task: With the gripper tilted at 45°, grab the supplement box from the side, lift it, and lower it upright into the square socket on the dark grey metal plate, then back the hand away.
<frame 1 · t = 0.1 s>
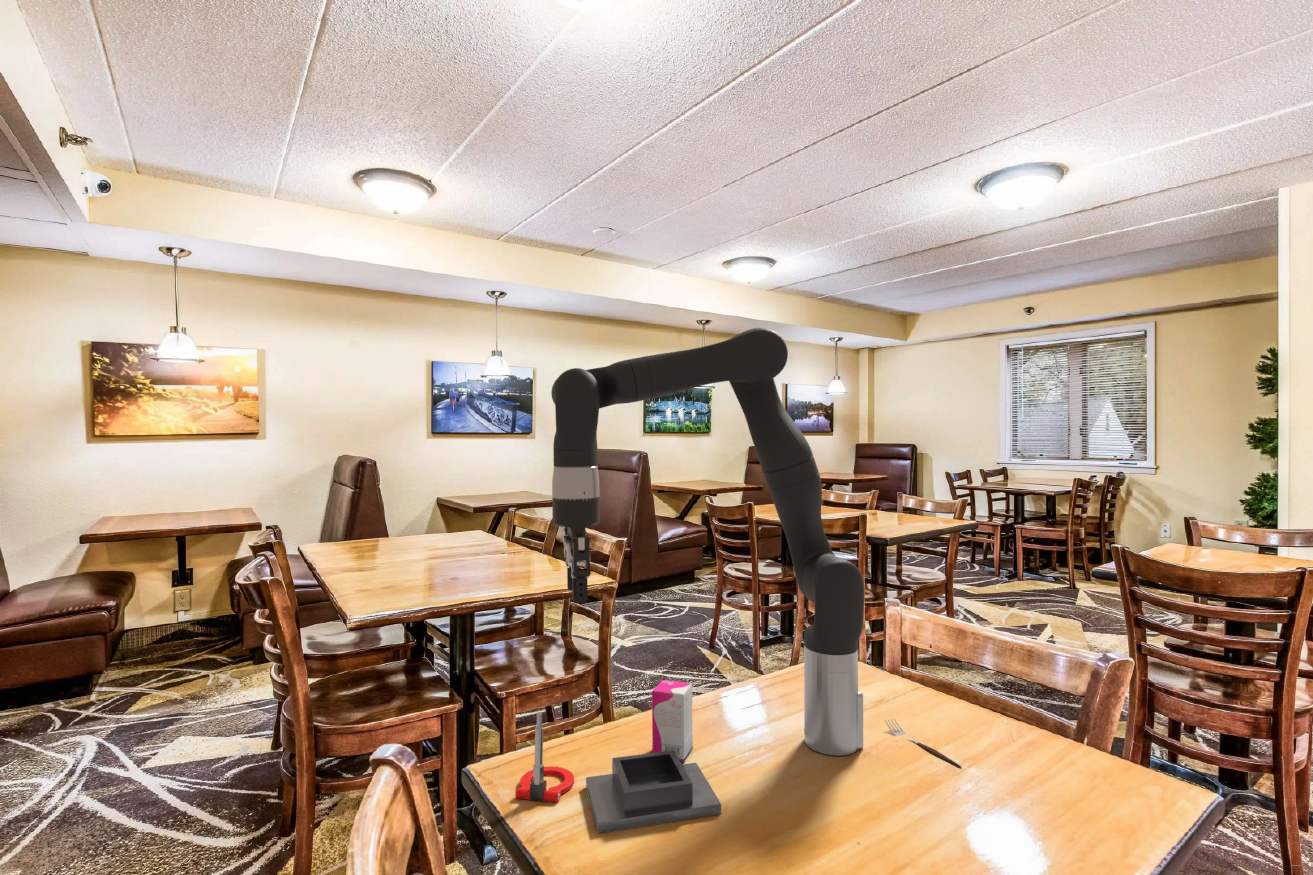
hand: (577, 595, 102), 29 cm above the table, tool pointing down, fingers open, 8 cm apart
tow hook: (546, 787, 100), on the table
socket plate: (651, 799, 96), on the table
supplement box: (672, 753, 110), on the table
fork: (922, 749, 112), on the table
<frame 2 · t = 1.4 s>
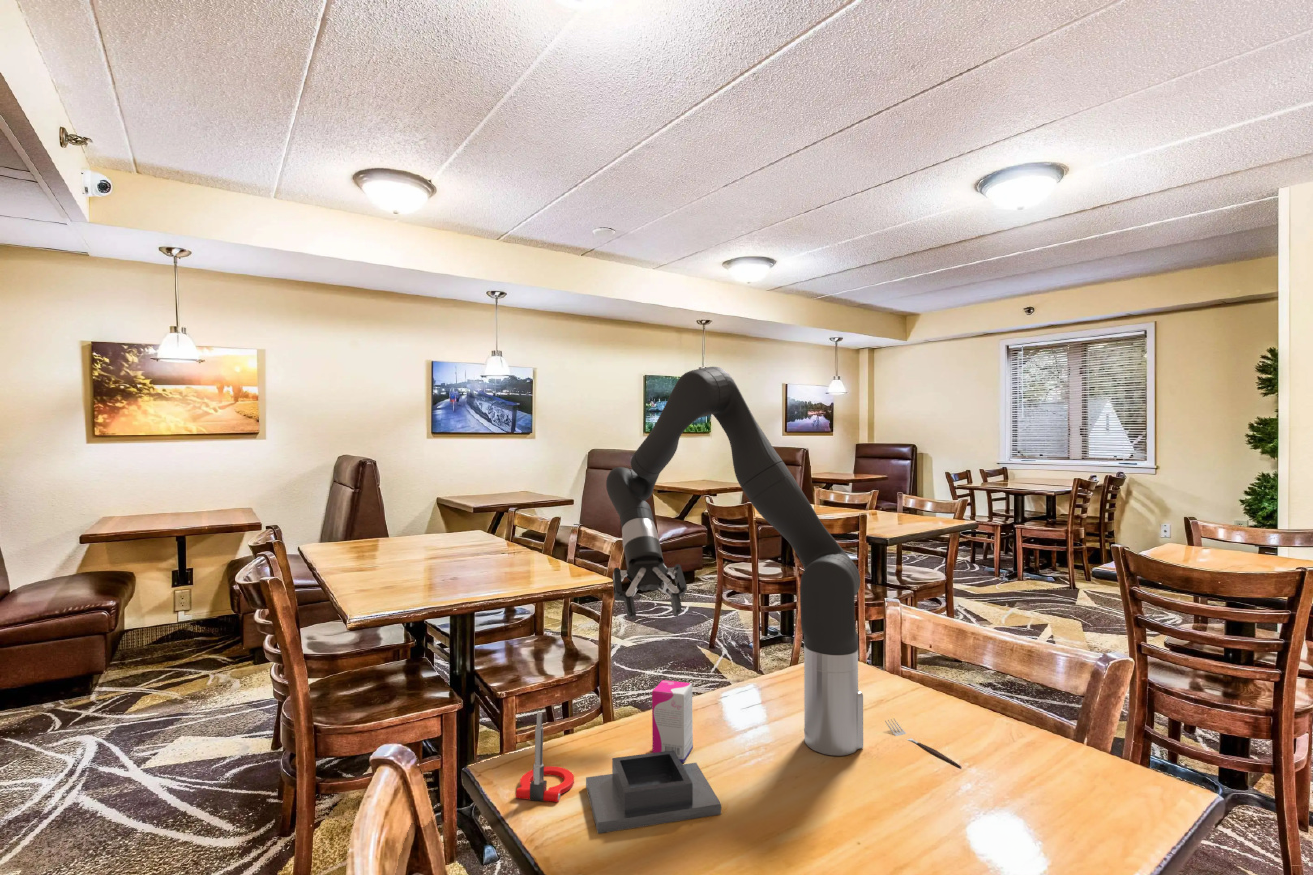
hand: (655, 615, 121), 21 cm above the table, tool tilted 45°, fingers open, 8 cm apart
nothing on the table moved.
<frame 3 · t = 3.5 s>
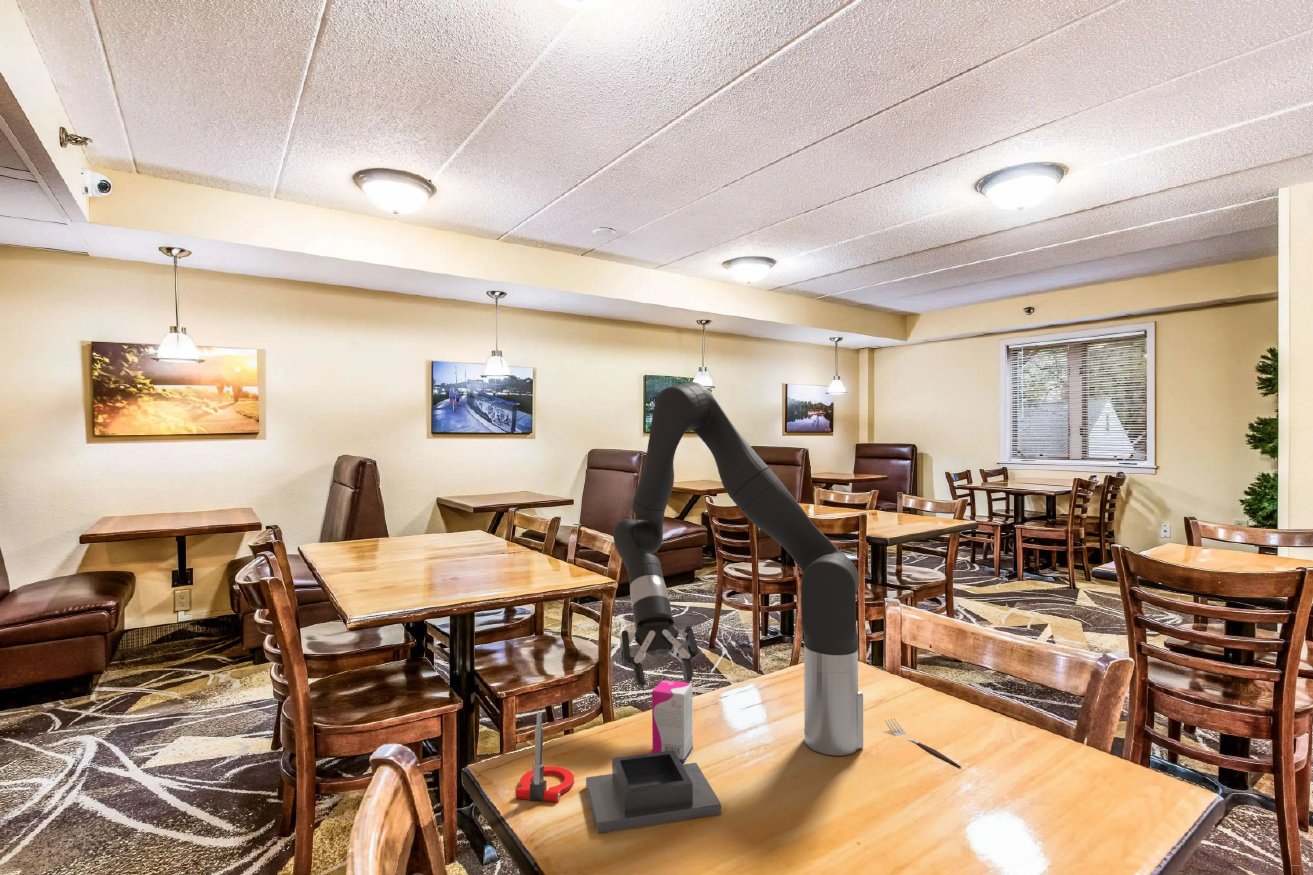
hand: (665, 683, 115), 10 cm above the table, tool tilted 45°, fingers open, 8 cm apart
nothing on the table moved.
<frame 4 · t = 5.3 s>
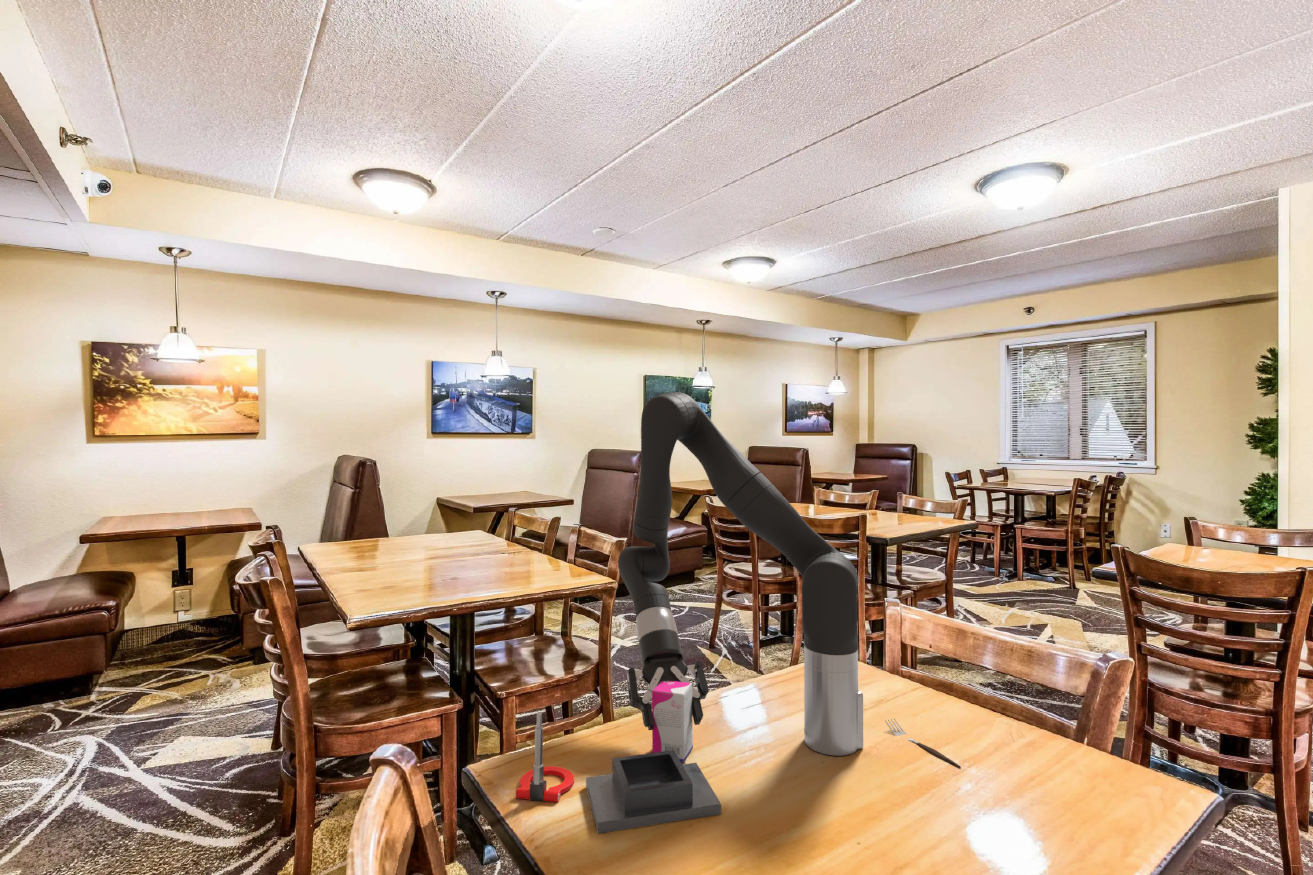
hand: (675, 725, 109), 5 cm above the table, tool tilted 45°, fingers closed on supplement box, 8 cm apart
supplement box: (672, 753, 110), on the table, touching gripper
everything else where it was.
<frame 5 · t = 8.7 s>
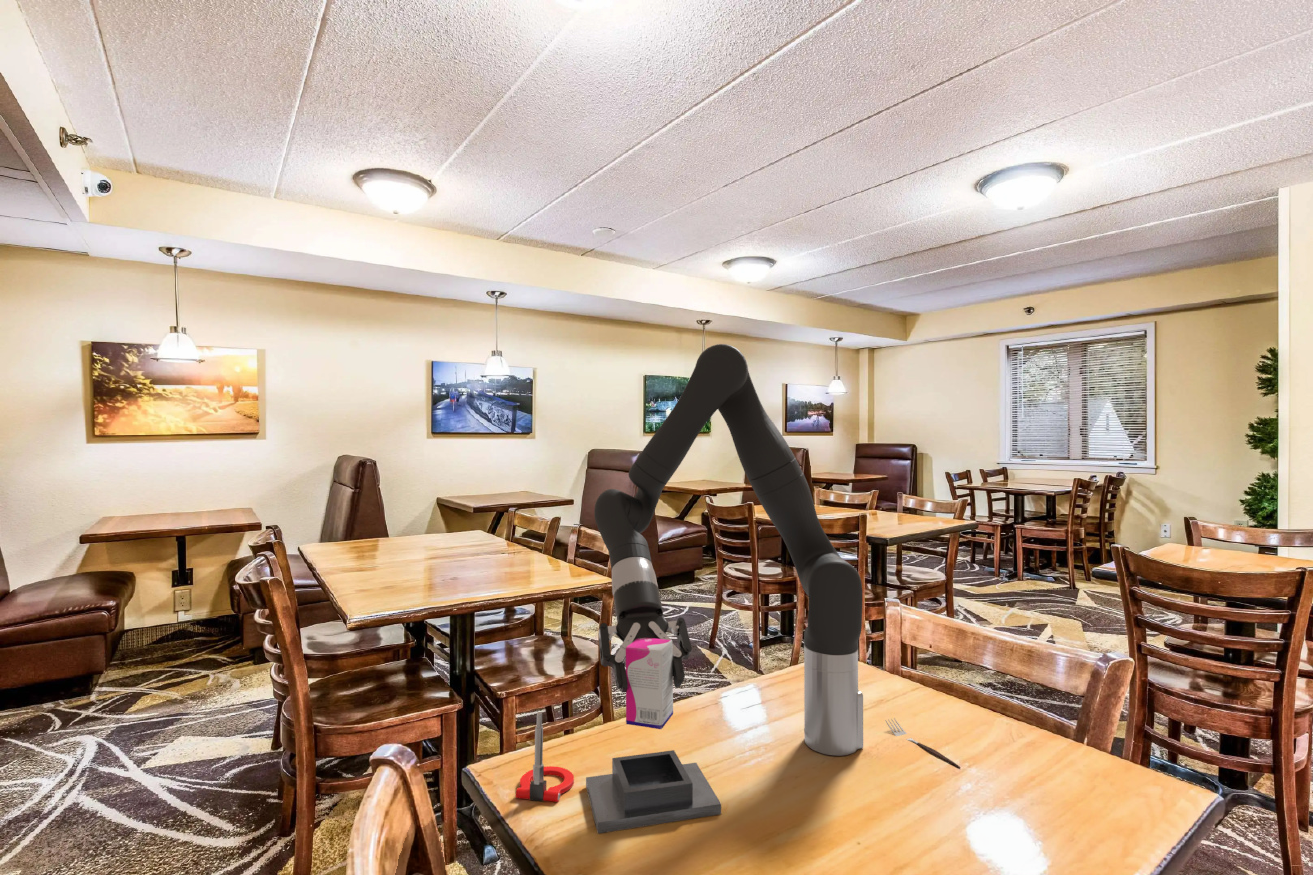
hand: (652, 687, 95), 17 cm above the table, tool tilted 45°, fingers closed on supplement box, 8 cm apart
supplement box: (649, 720, 96), point 12 cm above the table, touching gripper
everything else where it was.
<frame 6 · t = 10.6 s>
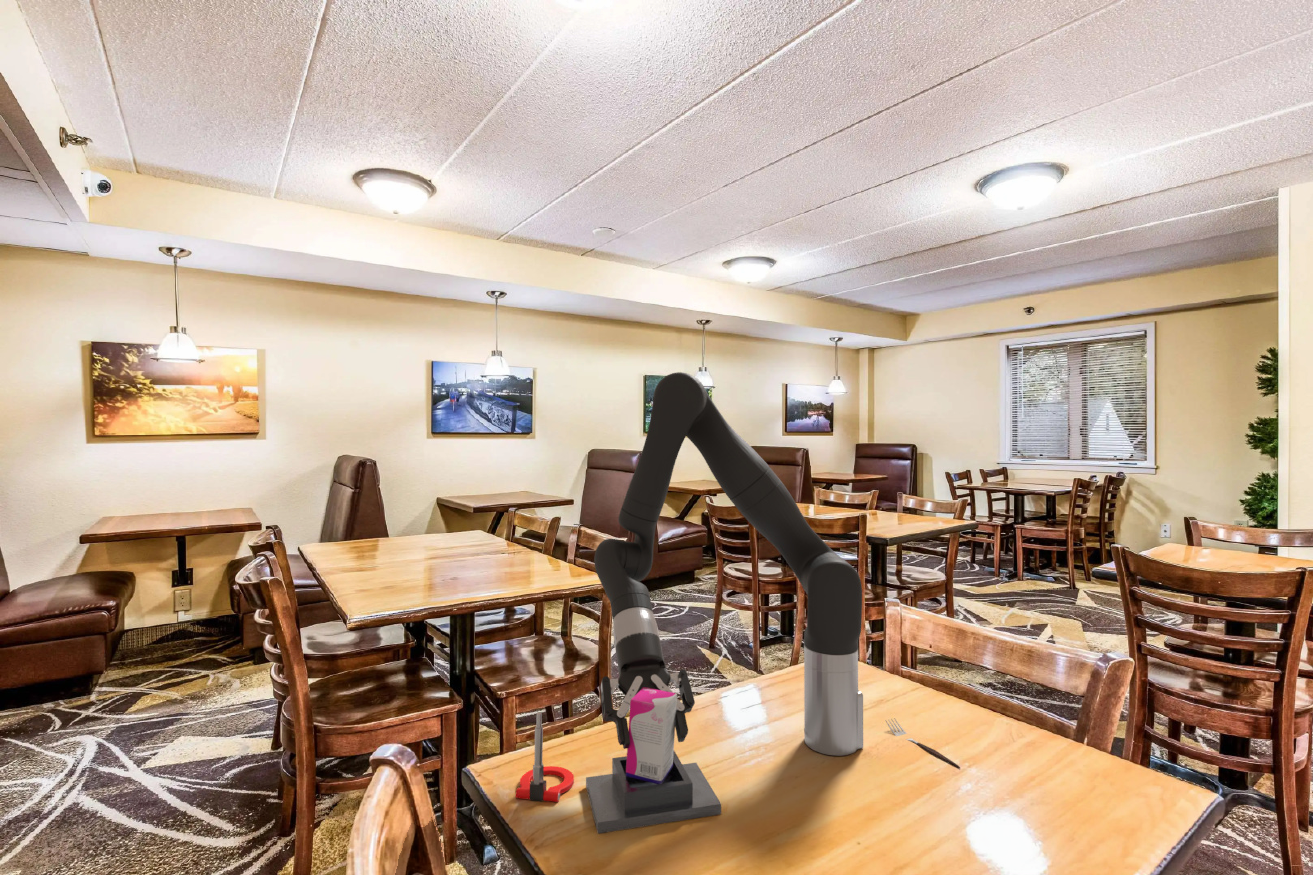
hand: (654, 743, 94), 9 cm above the table, tool tilted 45°, fingers closed on supplement box, 8 cm apart
supplement box: (649, 772, 96), point 4 cm above the table, touching gripper, socket plate
everything else where it was.
when the fingers open (10 cm above the table, at t = 12.0 s): supplement box drops 3 cm, resting on socket plate.
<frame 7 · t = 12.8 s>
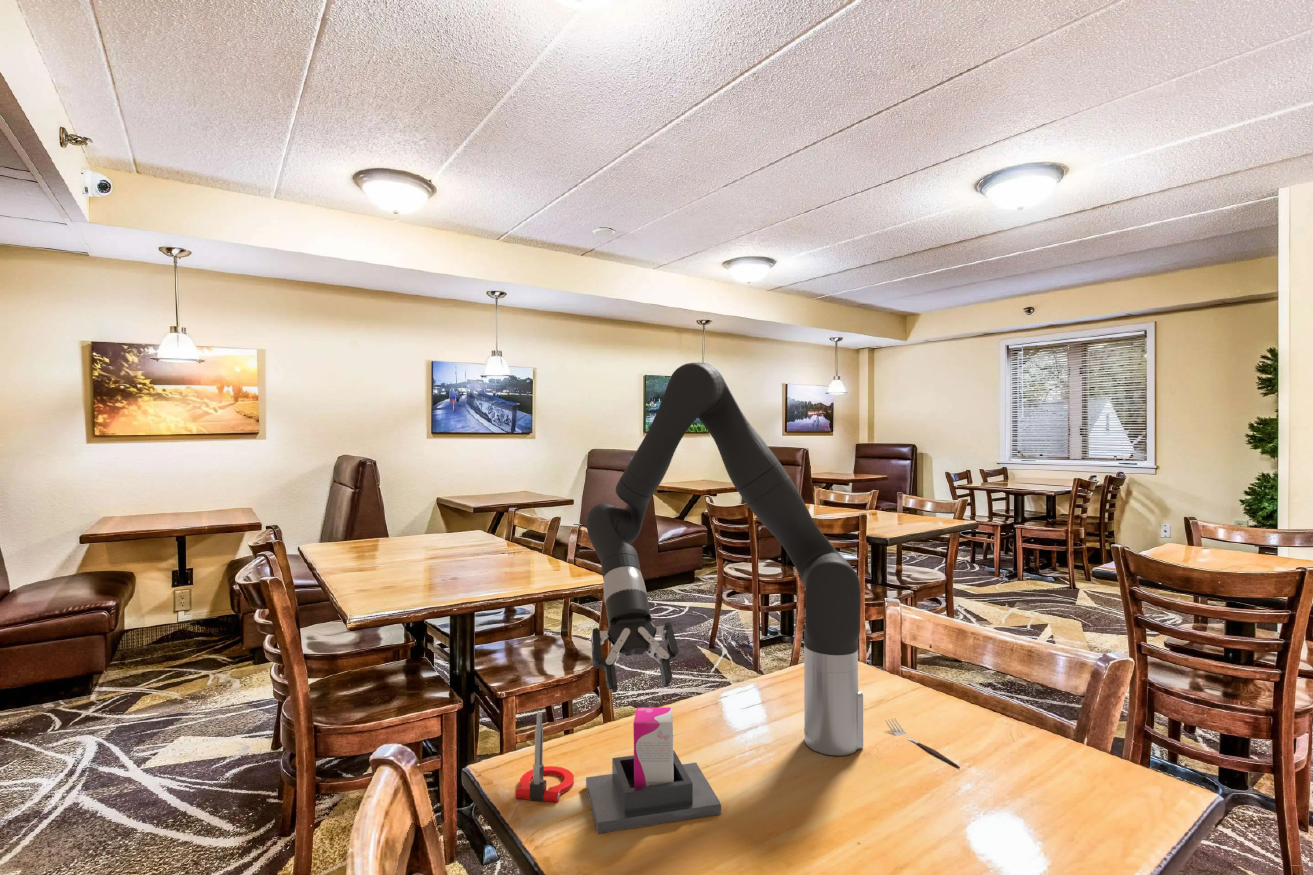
hand: (641, 687, 102), 14 cm above the table, tool tilted 45°, fingers open, 8 cm apart
supplement box: (654, 791, 96), point 1 cm above the table, touching socket plate
everything else where it was.
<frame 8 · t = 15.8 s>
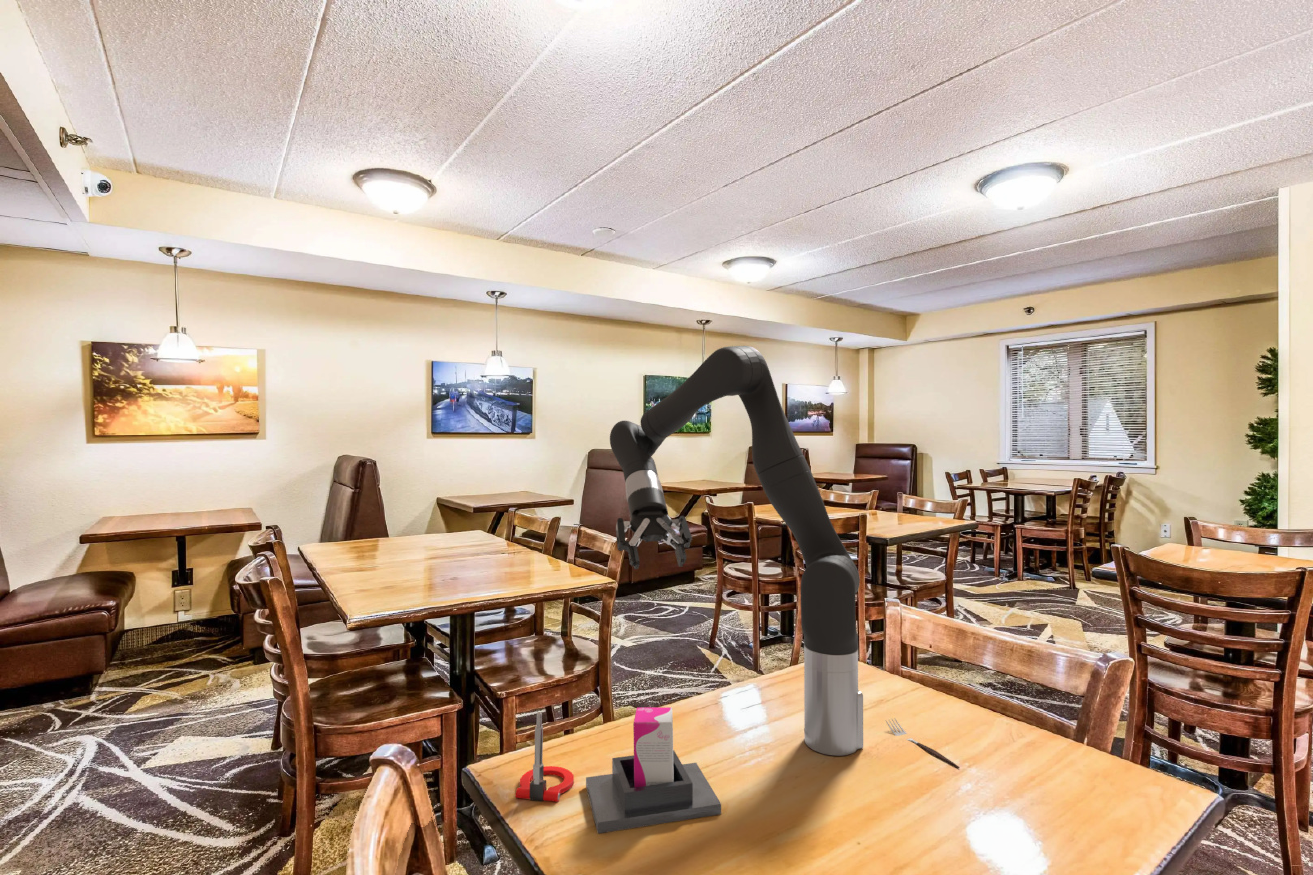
hand: (659, 565, 119), 31 cm above the table, tool tilted 45°, fingers open, 8 cm apart
nothing on the table moved.
at the end: supplement box 0.5 cm off-centre on the socket plate, point 1.3 cm above the socket plate's base; supplement box tilted 0°; the gripper is holding nothing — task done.
